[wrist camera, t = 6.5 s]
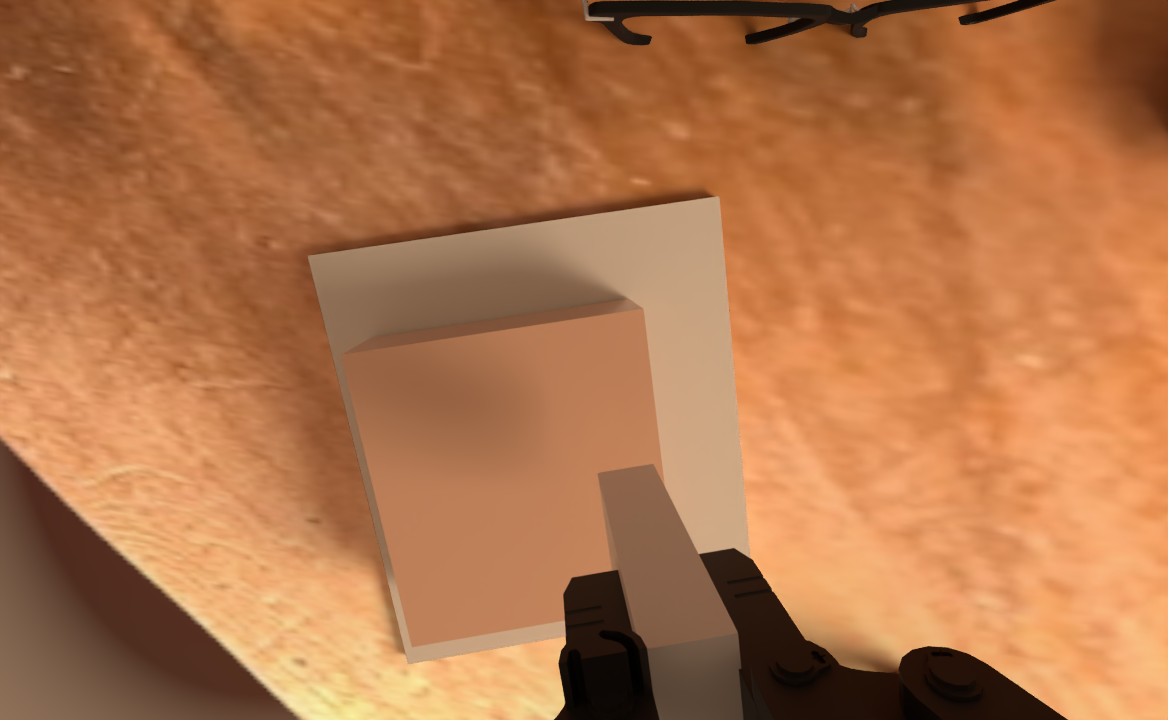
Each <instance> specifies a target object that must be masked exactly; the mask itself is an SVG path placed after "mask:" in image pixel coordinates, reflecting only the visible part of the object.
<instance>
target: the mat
mask: <svg viewBox="0 0 1168 720" xmlns="http://www.w3.org/2000/svg"><path fill="white" fill-rule="evenodd" d="M308 260H309V264H310V268H311V272H312V276H313V280H314V284H315V288H316V292H317V296H318V300H319V304H320V308H321V313H322V317H323V321H324V325H325V329H326V333H327V337H328V341H329V345H330V349H331V353H332V357H333V361H334V365H335V369H336V373H337V377H338V382H339V386H340V390H341V394H342V398H343V402H344V406H345V410H346V414H347V418H348V422H349V426H350V430H351V434H352V438H353V442H354V447H355V451H356V455H357V459H358V463H359V467H360V471H361V475H362V479H363V483H364V487H365V491H366V495H367V499H368V503H369V507H370V511H371V516H372V520H373V524H374V528H375V532H376V536H377V540H378V544H379V548H380V552H381V556H382V560H383V564H384V568H385V572H386V576H387V580H388V585H389V589H390V593H391V597H392V601H393V605H394V609H395V613H396V617H397V621H398V625H399V629H400V633H401V637H402V641H403V645H404V649H405V654H406V658H407V662H408V664H412V663H418V662H423V661H429V660H435V659H440V658H446V657H452V656H457V655H463V654H469V653H474V652H480V651H486V650H491V649H497V648H503V647H508V646H514V645H520V644H525V643H531V642H537V641H542V640H548V639H554V638H559V637H565V636H566V632H565V630H566V629H565V621H559V622H554V623H548V624H542V625H536V626H531V627H525V628H519V629H514V630H508V631H502V632H496V633H491V634H485V635H479V636H474V637H468V638H462V639H457V640H451V641H445V642H439V643H434V644H428V645H422V646H417V647H412V646H411V642H410V638H409V633H408V629H407V625H406V621H405V617H404V613H403V609H402V605H401V600H400V596H399V592H398V588H397V584H396V580H395V576H394V572H393V568H392V563H391V559H390V555H389V551H388V547H387V543H386V539H385V535H384V530H383V526H382V522H381V518H380V514H379V510H378V506H377V502H376V498H375V493H374V489H373V485H372V481H371V477H370V473H369V469H368V465H367V460H366V456H365V452H364V448H363V444H362V440H361V436H360V432H359V428H358V423H357V419H356V415H355V411H354V407H353V403H352V399H351V395H350V390H349V386H348V382H347V378H346V374H345V370H344V366H343V362H342V358H341V354H343V353H345V352H347V351H348V350H350V349H352V348H354V347H355V346H357V345H359V344H360V343H362V342H364V341H366V340H367V339H369V338H371V337H377V336H383V335H390V334H397V333H403V332H410V331H416V330H423V329H430V328H436V327H443V326H449V325H456V324H463V323H469V322H476V321H483V320H489V319H496V318H502V317H509V316H516V315H522V314H529V313H535V312H542V311H549V310H555V309H562V308H568V307H575V306H582V305H588V304H595V303H601V302H608V301H615V300H621V299H628V298H629V299H630V300H631V301H633V302H634V303H636V304H637V305H639V306H640V307H642V308H643V309H644V317H645V325H646V333H647V342H648V350H649V358H650V367H651V375H652V383H653V392H654V400H655V408H656V417H657V425H658V434H659V442H660V450H661V459H662V467H663V475H664V484H665V488H666V490H667V492H668V494H669V496H670V498H671V500H672V502H673V504H674V506H675V508H676V510H677V512H678V514H679V516H680V518H681V520H682V522H683V524H684V526H685V528H686V530H687V532H688V534H689V536H690V538H691V540H692V542H693V544H694V546H695V548H696V550H697V552H698V554H702V553H707V552H713V551H719V550H725V549H731V548H735V549H737V550H738V551H740V552H741V553H743V554H744V555H746V556H747V557H749V558H750V548H749V537H748V525H747V513H746V502H745V490H744V479H743V467H742V455H741V444H740V432H739V421H738V409H737V397H736V386H735V374H734V362H733V351H732V339H731V328H730V316H729V304H728V293H727V281H726V270H725V258H724V246H723V235H722V223H721V211H720V200H719V196H717V197H710V198H704V199H697V200H690V201H683V202H676V203H669V204H662V205H655V206H648V207H641V208H634V209H627V210H621V211H614V212H607V213H600V214H593V215H586V216H579V217H572V218H565V219H558V220H551V221H544V222H538V223H531V224H524V225H517V226H510V227H503V228H496V229H489V230H482V231H475V232H468V233H461V234H455V235H448V236H441V237H434V238H427V239H420V240H413V241H406V242H399V243H392V244H385V245H378V246H372V247H365V248H358V249H351V250H344V251H337V252H330V253H323V254H316V255H309V256H308Z"/></svg>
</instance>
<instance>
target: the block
mask: <svg viewBox="0 0 1168 720" xmlns="http://www.w3.org/2000/svg"><path fill="white" fill-rule="evenodd" d="M341 358H342V362H343V366H344V370H345V374H346V378H347V382H348V386H349V390H350V395H351V399H352V403H353V407H354V411H355V415H356V419H357V423H358V428H359V432H360V436H361V440H362V444H363V448H364V452H365V456H366V460H367V465H368V469H369V473H370V477H371V481H372V485H373V489H374V493H375V498H376V502H377V506H378V510H379V514H380V518H381V522H382V526H383V530H384V535H385V539H386V543H387V547H388V551H389V555H390V559H391V563H392V568H393V572H394V576H395V580H396V584H397V588H398V592H399V596H400V600H401V605H402V609H403V613H404V617H405V621H406V625H407V629H408V633H409V638H410V642H411V646H412V647H417V646H422V645H428V644H434V643H439V642H445V641H451V640H457V639H462V638H468V637H474V636H479V635H485V634H491V633H496V632H502V631H508V630H514V629H519V628H525V627H531V626H536V625H542V624H548V623H554V622H559V621H565V616H564V615H565V614H564V600H563V594H564V592H565V590H566V588H567V586H568V584H569V582H570V580H571V578H572V577H578V576H584V575H590V574H596V573H601V572H607V571H612V567H611V561H610V555H609V548H608V541H607V534H606V527H605V521H604V514H603V507H602V500H601V493H600V487H599V480H598V473H600V472H606V471H612V470H618V469H624V468H630V467H636V466H642V465H648V464H654V466H655V468H656V470H657V472H658V474H659V476H660V478H661V480H662V482H663V484H664V475H663V467H662V459H661V450H660V442H659V434H658V425H657V417H656V408H655V400H654V392H653V383H652V375H651V367H650V358H649V350H648V342H647V333H646V325H645V317H644V309H643V308H642V307H640V306H639V305H637V304H636V303H634V302H633V301H631V300H630V299H629V298H628V299H621V300H615V301H608V302H601V303H595V304H588V305H582V306H575V307H568V308H562V309H555V310H549V311H542V312H535V313H529V314H522V315H516V316H509V317H502V318H496V319H489V320H483V321H476V322H469V323H463V324H456V325H449V326H443V327H436V328H430V329H423V330H416V331H410V332H403V333H397V334H390V335H383V336H377V337H371V338H369V339H367V340H366V341H364V342H362V343H360V344H359V345H357V346H355V347H354V348H352V349H350V350H348V351H347V352H345V353H343V354H341ZM664 486H665V484H664Z"/></svg>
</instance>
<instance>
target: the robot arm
mask: <svg viewBox="0 0 1168 720" xmlns="http://www.w3.org/2000/svg"><path fill="white" fill-rule="evenodd" d="M598 480H599V487H600V493H601V500H602V507H603V514H604V521H605V527H606V534H607V541H608V548H609V555H610V561H611V567H612V571H607V572H601V573H596V574H590V575H584V576H578V577H572V578H571V580H570V582H569V584H568V586H567V588H566V590H565V592H564V594H563V600H564V614H565V615H564V616H565V629H566V630H565V632H566V645H565V646H564V648H563V649H562V650H561V654H560V659H559V663H558V664H559V669H560V675H561V680H562V686H563V692H564V697H565V705H564V707H563V709H562V710H561V712H560V713H559V715H558V716H557V717H556V718H555V719H554V720H1067V719H1066V718H1065V717H1063V716H1062V715H1060V714H1059V713H1057V712H1056V711H1054V710H1053V709H1052V708H1050V707H1049V706H1047V705H1046V704H1044V703H1043V702H1041V701H1040V700H1038V699H1037V698H1036V697H1034V696H1033V695H1031V694H1030V693H1028V692H1027V691H1025V690H1024V689H1023V688H1021V687H1020V686H1018V685H1017V684H1015V683H1014V682H1012V681H1011V680H1010V679H1008V678H1007V677H1005V676H1004V675H1002V674H1001V673H999V672H998V671H996V670H995V669H994V668H992V667H991V666H989V665H988V664H986V663H984V662H982V661H981V660H979V659H977V658H975V657H973V656H971V655H969V654H967V653H964V652H960V651H957V650H954V649H950V648H946V647H931V646H927V647H923V648H918V649H913V650H911V651H910V652H909V653H907V654H906V655H905V656H903V657H902V659H901V663H900V666H899V674H897V673H885V672H872V671H863V670H856V669H850V668H847V667H844V666H841V665H839V663H838V662H837V660H836V659H835V658H834V657H833V656H832V655H831V654H830V653H829V652H828V651H827V650H826V649H824V648H822V647H820V646H818V645H816V644H814V643H812V642H810V641H806V640H805V639H804V637H803V636H802V634H801V633H800V631H799V630H798V628H797V627H796V625H795V624H794V622H793V621H792V619H791V617H790V616H789V614H788V613H787V611H786V610H785V608H784V607H783V605H782V604H781V602H780V601H779V599H778V598H777V596H776V595H775V593H774V592H772V590H771V587H770V586H769V584H768V583H767V581H766V580H765V579H764V578H763V575H762V574H761V572H760V570H759V569H758V567H757V566H756V564H755V563H754V561H753V560H752V559H751V558H749V557H747V556H746V555H744V554H743V553H741V552H740V551H738V550H737V549H735V548H731V549H725V550H719V551H713V552H707V553H702V554H698V552H697V550H696V548H695V546H694V544H693V542H692V540H691V538H690V536H689V534H688V532H687V530H686V528H685V526H684V524H683V522H682V520H681V518H680V516H679V514H678V512H677V510H676V508H675V506H674V504H673V502H672V500H671V498H670V496H669V494H668V492H667V490H666V488H665V486H664V484H663V482H662V480H661V478H660V476H659V474H658V472H657V470H656V468H655V466H654V464H648V465H642V466H636V467H630V468H624V469H618V470H612V471H606V472H600V473H598Z"/></svg>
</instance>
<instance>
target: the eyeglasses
mask: <svg viewBox="0 0 1168 720" xmlns="http://www.w3.org/2000/svg"><path fill="white" fill-rule="evenodd" d="M981 1H988V0H890V1H884V2H879V3H875V4H871V5H869V6H866V7H864V8H862V9H858V8H857V7H856V6H855V4H854V3H852V4H851V6H850V9H849V8H848V9H847V10H846V11H845V12H843V11H839V10H837V9H835V8H833V7H832V6H830V5H823V4H810V3H778V2H752V1H660V0H654V1H600V2H594V3H592V4H590V5H589V6H587V3H588V0H582V5H583V11H584V17H585V20H587V21H592V22H599V23H602V24H604V25H605V26H606V27H607V28H608V29H609V30H610V31H611V32H612V33H613V34H614V35H615V36H616V37H618V38H619V39H620V40H621V41H623V42H625V43H627V44H632V45H648V44H650V41H651V38H652V37H651V36H647V35H639V34H635V33H632V32H631V31H629V30H628V29H627V28H626V27H625V26H624V25H623V24H622V21H623V20H624V19H626V18H631V17H638V16H700V15H719V16H763V17H787V18H789V19H788V24H785V25H782V26H779V27H776V28H772V29H768V30H765V31H761V32H757V33H754V34H749V35H746V36H745V39H746V43H747V44H758V43H763V42H767V41H770V40H774V39H778V38H781V37H785V36H788V35H792V34H795V33H798V32H801V31H804V30H807V29H810V28H813V27H816V26H819V25H822V24H824V23H830V24H837V25H849V24H851V33H852V35H853V36H854V37H856V38H859V37H865V36H866V34H867V28H865V27H862V26H863V25H865V24H866V23H867V22H869V21H870V20H872V19H875V18H878V17H880V16H884V15H889V14H894V13H901V12H908V11H915V10H921V9H929V8H937V7H945V6H952V5H959V4H966V3H973V2H981ZM1052 1H1055V0H1018V1H1015V2H1012V3H1009V4H1006V5H1002V6H999V7H996V8H993V9H989V10H986V11H982V12H979V13H975V14H970V15H966V16H961V17H959V18H958V19H959V21H960V24H961V25H969V24H975V23H980V22H984V21H988V20H991V19H995V18H998V17H1001V16H1005V15H1008V14H1012V13H1015V12H1018V11H1022V10H1025V9H1029V8H1032V7H1035V6H1038V5H1042V4H1045V3H1048V2H1052ZM853 10H854V11H856V12H853Z"/></svg>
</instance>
